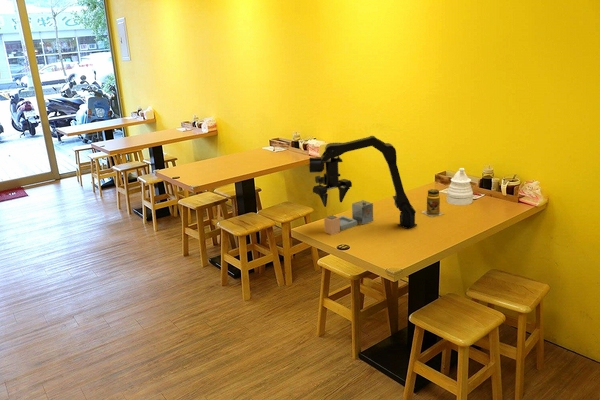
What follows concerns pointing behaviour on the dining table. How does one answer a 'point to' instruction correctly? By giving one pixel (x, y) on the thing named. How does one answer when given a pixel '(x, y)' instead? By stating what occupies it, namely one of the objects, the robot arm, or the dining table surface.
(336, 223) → the block
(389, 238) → the dining table surface
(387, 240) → the dining table surface
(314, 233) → the dining table surface
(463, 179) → the honey pot
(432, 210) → the condiment
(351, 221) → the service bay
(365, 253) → the dining table surface
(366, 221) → the junction box
